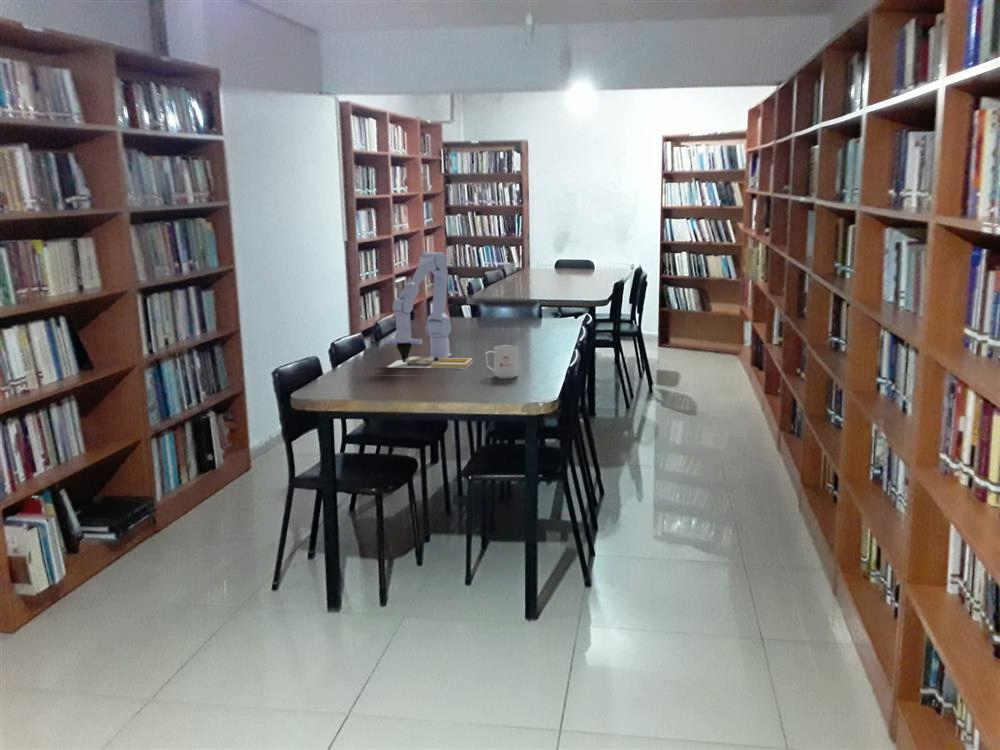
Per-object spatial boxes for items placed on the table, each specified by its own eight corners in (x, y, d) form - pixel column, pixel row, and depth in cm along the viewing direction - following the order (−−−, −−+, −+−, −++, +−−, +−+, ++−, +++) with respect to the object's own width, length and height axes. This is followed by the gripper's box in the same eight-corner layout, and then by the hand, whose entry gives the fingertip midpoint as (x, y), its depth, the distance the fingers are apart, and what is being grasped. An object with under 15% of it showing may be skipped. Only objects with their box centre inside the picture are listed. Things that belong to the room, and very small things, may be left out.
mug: (517, 373, 333) (516, 344, 331) (519, 378, 324) (518, 348, 322) (485, 374, 332) (484, 345, 330) (486, 379, 324) (485, 350, 321)
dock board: (397, 361, 362) (397, 356, 361) (473, 362, 356) (472, 357, 355) (386, 368, 348) (386, 363, 348) (464, 369, 342) (464, 364, 342)
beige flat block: (405, 365, 350) (404, 359, 350) (410, 362, 357) (410, 356, 357) (429, 366, 348) (428, 360, 348) (434, 362, 355) (433, 356, 355)
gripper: (383, 329, 349) (384, 363, 351) (418, 330, 346) (419, 363, 349) (388, 327, 355) (390, 359, 358) (423, 327, 352) (424, 360, 355)
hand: (405, 361), depth 354 cm, fingers closed
